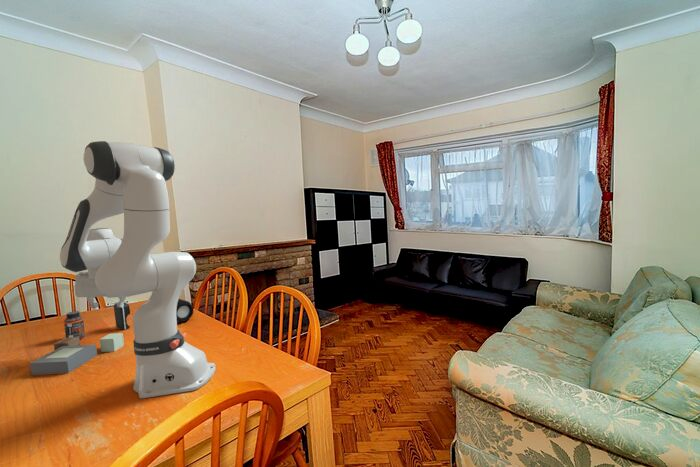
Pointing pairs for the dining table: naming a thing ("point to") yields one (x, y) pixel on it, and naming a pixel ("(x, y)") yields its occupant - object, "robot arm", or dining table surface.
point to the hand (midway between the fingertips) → (107, 307)
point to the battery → (121, 316)
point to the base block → (63, 359)
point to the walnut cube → (67, 342)
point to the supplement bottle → (74, 325)
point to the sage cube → (111, 342)
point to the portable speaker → (184, 310)
